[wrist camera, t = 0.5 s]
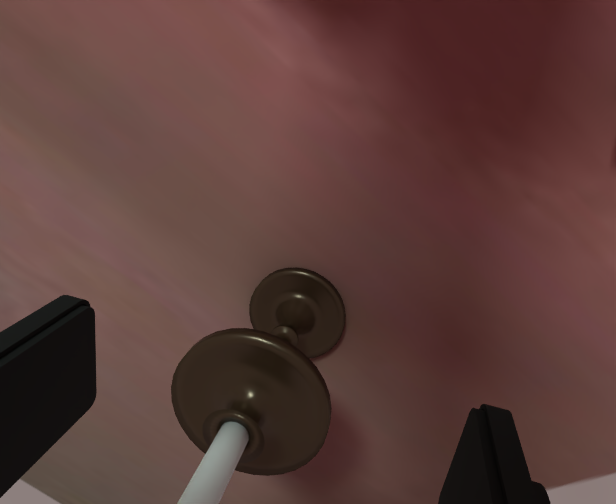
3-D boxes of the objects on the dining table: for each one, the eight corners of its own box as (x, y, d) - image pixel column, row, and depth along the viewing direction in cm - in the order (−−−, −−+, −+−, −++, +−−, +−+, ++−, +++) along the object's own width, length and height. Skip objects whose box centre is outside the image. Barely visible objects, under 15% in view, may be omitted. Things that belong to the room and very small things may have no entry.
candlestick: (327, 241, 41) (-7, 826, 8) (373, 345, 43) (252, 1114, 11) (224, 279, 44) (-292, 797, 12) (272, 373, 46) (-49, 1019, 14)
